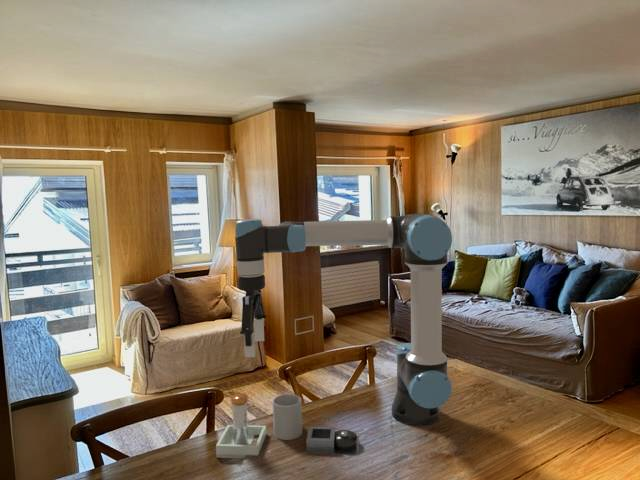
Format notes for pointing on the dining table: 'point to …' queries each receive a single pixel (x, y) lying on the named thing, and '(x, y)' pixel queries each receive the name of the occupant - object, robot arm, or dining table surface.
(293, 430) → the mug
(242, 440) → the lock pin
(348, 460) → the dining table surface
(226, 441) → the tray
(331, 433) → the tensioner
